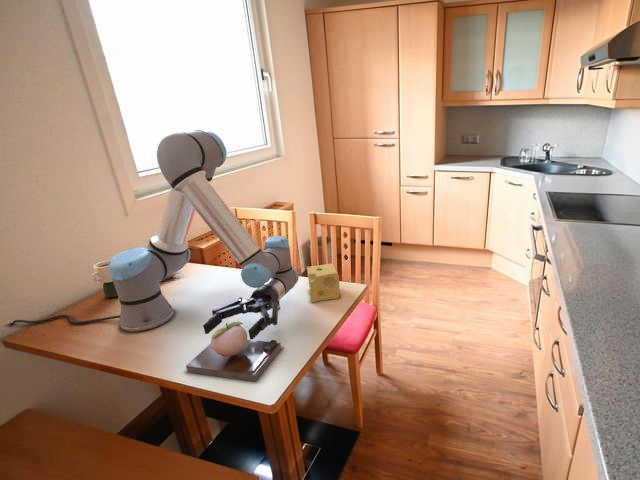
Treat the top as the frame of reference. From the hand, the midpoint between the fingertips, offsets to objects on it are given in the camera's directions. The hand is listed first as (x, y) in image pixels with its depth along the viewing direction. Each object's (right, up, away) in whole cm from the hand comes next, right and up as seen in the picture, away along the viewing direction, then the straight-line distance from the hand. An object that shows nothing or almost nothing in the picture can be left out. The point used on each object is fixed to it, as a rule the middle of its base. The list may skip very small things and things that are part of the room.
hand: (227, 332), depth 100 cm
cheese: (+20, +6, +39) cm, 44 cm away
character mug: (-61, +5, +44) cm, 75 cm away
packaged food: (-50, +11, +57) cm, 77 cm away
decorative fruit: (+1, -7, +3) cm, 8 cm away
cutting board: (+1, -8, +4) cm, 10 cm away
